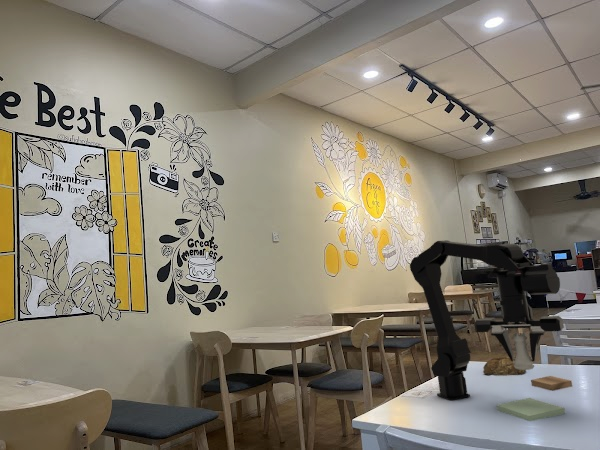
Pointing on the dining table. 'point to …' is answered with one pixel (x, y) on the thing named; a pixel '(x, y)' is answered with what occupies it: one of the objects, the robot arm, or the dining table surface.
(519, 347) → the rook chess piece
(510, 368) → the bread roll
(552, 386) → the walnut block
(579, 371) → the dining table surface
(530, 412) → the sage block
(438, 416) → the dining table surface
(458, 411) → the dining table surface
